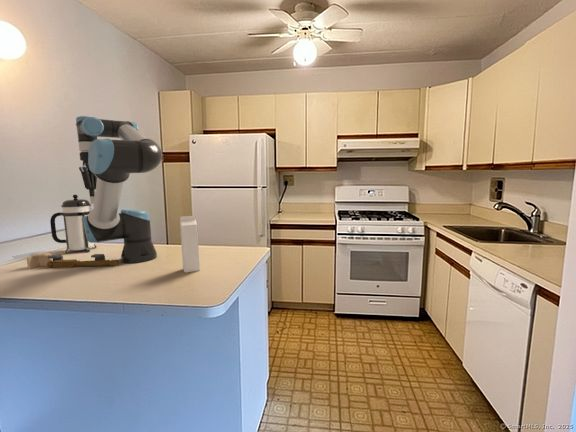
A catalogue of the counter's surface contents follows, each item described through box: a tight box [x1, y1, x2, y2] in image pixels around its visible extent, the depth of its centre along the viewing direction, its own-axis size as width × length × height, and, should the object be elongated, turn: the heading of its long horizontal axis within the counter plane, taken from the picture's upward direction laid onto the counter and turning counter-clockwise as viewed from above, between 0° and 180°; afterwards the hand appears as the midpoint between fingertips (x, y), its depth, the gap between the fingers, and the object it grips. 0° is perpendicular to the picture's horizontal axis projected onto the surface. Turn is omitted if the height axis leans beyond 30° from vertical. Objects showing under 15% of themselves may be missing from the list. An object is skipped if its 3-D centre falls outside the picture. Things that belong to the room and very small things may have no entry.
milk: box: [179, 215, 201, 273], centre depth 126 cm, size 6×6×22 cm
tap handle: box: [47, 259, 119, 269], centre depth 136 cm, size 3×3×30 cm
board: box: [26, 252, 106, 270], centre depth 138 cm, size 33×9×6 cm, turn 89°
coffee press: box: [49, 194, 97, 255], centre depth 164 cm, size 17×16×30 cm
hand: (94, 203), depth 146 cm, fingers closed
